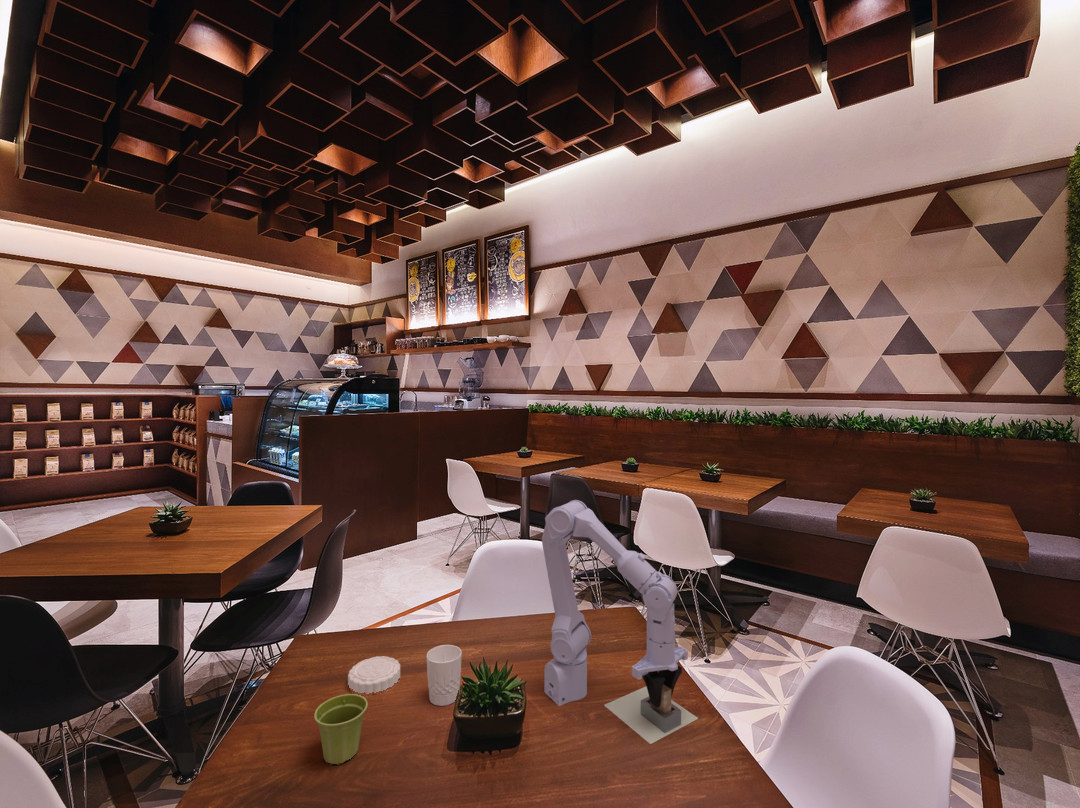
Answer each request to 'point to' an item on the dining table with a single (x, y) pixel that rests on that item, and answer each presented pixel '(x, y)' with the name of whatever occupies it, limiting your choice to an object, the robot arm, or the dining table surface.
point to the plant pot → (340, 726)
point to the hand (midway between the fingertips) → (660, 701)
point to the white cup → (444, 674)
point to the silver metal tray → (661, 716)
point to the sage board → (631, 715)
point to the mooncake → (374, 674)
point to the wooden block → (664, 700)
